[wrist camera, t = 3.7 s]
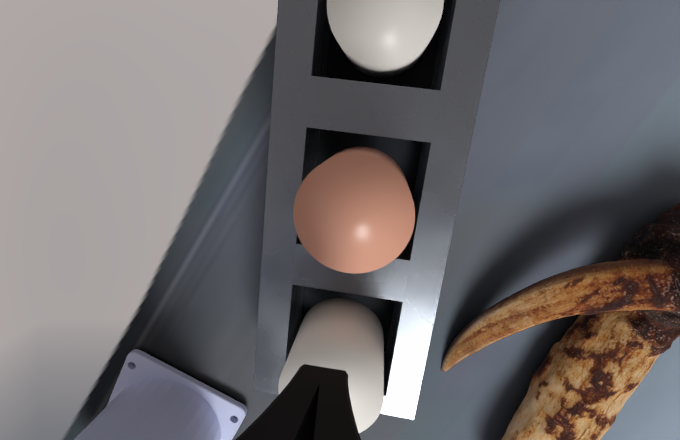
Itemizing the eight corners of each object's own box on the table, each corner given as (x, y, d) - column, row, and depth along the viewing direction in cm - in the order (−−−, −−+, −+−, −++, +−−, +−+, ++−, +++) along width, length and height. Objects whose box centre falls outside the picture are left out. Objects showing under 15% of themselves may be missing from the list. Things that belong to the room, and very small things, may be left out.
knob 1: (377, 378, 19) (375, 446, 15) (297, 364, 19) (274, 427, 15) (389, 305, 17) (391, 357, 14) (304, 291, 18) (282, 338, 14)
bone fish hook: (564, 144, 18) (396, 420, 23) (621, 148, 14) (396, 491, 18) (744, 229, 18) (537, 490, 23) (862, 261, 14) (573, 580, 18)
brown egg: (399, 244, 17) (404, 281, 13) (310, 231, 17) (288, 263, 13) (415, 152, 16) (425, 163, 12) (319, 140, 16) (298, 147, 12)
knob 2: (421, 82, 17) (432, 72, 13) (335, 72, 18) (321, 59, 14) (438, -17, 16) (454, -59, 12) (345, -25, 17) (333, -69, 13)
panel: (409, 373, 22) (413, 419, 18) (272, 349, 22) (252, 390, 19) (491, -50, 16) (519, -94, 13) (305, -65, 17) (285, -112, 13)
